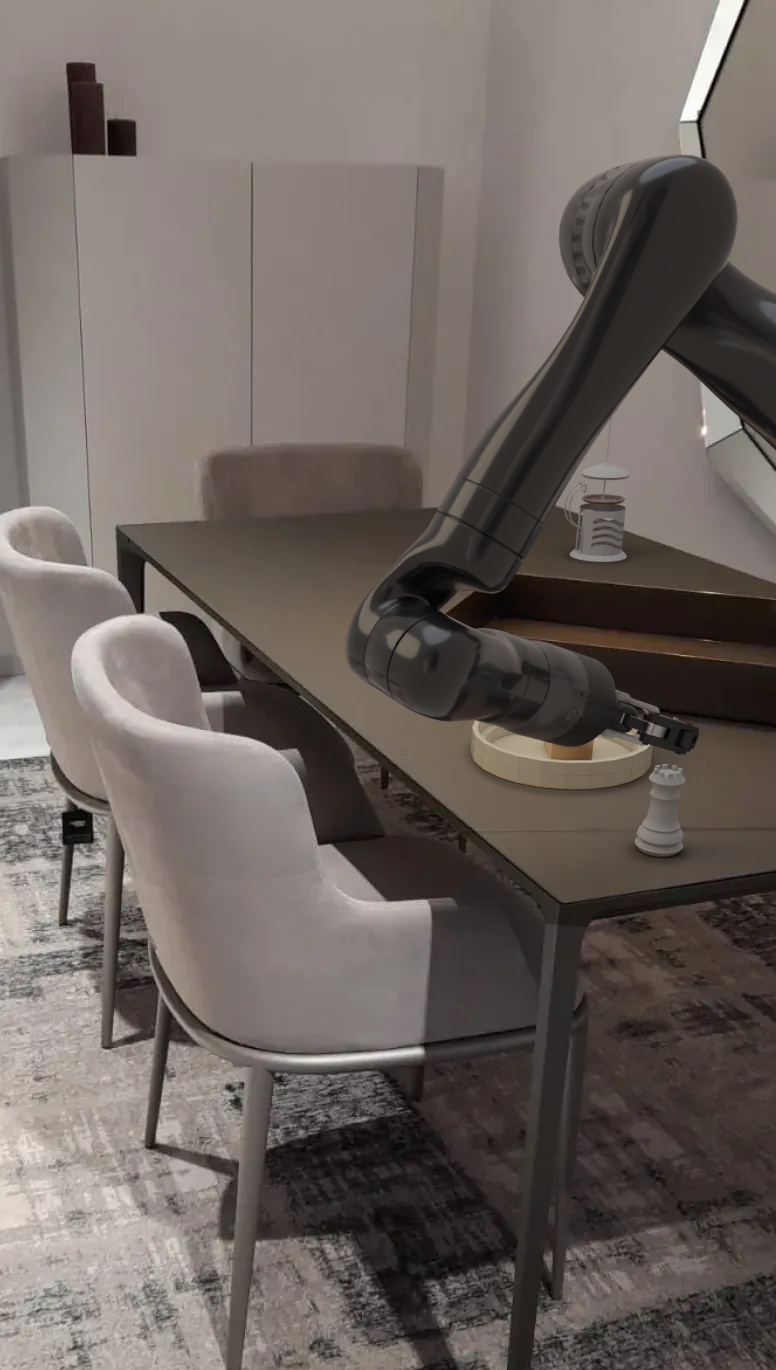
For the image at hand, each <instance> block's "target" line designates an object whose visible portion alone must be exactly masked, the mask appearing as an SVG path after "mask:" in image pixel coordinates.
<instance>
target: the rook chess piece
mask: <svg viewBox="0 0 776 1370" xmlns="http://www.w3.org/2000/svg"><path fill="white" fill-rule="evenodd" d="M683 771H684V770H683V768H682V767H679V765H675V764H672V765H671V768H669V764H668V763H662V764H661V765H659V764H657V765H654V768H653V772H652V773H650V774H649V776H648V779H649V781H650V782H651V784H652V788H651V790H650V792H649V795H650V804H649V807H648V811H647V815H646V817H645V819H643V820H642V824H640V825H639V826H638V829H637V831H636V833H635V834H636V835H637V837H636V838H635V839H634V844H635V846H636V847H637V849H638V850H639V851H640V852H642V853H643V854H646V855H648V856H653V857H658V858H662V857H663V858H665V857H666V858H669V857H672V856H675V855H677V854H678V853H680V851H682V850H683V848H684V844H683V842H682V841H683V840H684V837H685V835H684V832H683V830H682V829H681V824H680V822H679V818H678V803H679V799H680V798H681V797H682V794H681V793H680V788H681V787H682V786H683V785H684V784H685V782H686V778H685V777H684V775H683Z"/></svg>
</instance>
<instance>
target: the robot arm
mask: <svg viewBox="0 0 776 1370" xmlns="http://www.w3.org/2000/svg"><path fill="white" fill-rule="evenodd" d="M737 200H738V199H737V196H736V193H735V190H734V187H733V185H732V184H731V182H730V181H729V179H728V177H727V176H726V174H725V173H724V172H723V171H722V170H721V168H719V167H718V166H717V165H716V164H714V163H713V162H712V161H709V160H708V159H707V158H703V157H700V156H697V155H693V154H680V153H679V154H677V153H676V154H674V153H673V154H665V155H661V156H655V157H650V158H644V159H641V160H637V161H632V162H631V161H630V162H628V163H623V164H620V165H617V166H614V167H611V168H608V169H606V170H604V171H602V172H600V173H598V174H596V175H594V176H592V177H591V178H589V179H588V180H586V181H585V182H584V183H582V184H581V185H580V186H579V187H578V188H577V189H576V190H575V191H574V192H573V194H572V195H571V196H570V198H569V199H568V201H567V203H566V205H565V207H564V209H563V212H562V215H561V217H560V218H561V219H560V223H559V228H558V230H559V231H558V246H559V254H560V258H561V261H562V264H563V268H564V270H565V272H566V275H567V277H568V278H569V280H570V282H571V283H572V285H573V286H574V287H575V289H576V290H577V291H578V293H579V294H580V295H581V296H582V297H583V299H582V301H581V304H580V305H579V308H578V309H577V311H576V313H575V315H574V317H572V320H571V322H570V323H569V325H568V326H567V328H566V330H565V332H564V333H563V335H562V336H561V338H560V339H559V340H558V342H557V343H556V344H555V346H554V347H553V349H552V350H551V352H550V353H549V354H548V356H547V358H546V359H545V360H544V361H543V362H542V364H541V365H540V366H539V368H538V369H537V370H536V371H535V372H534V374H533V375H532V376H531V377H530V379H529V380H528V381H527V382H526V383H525V384H524V385H523V387H522V388H521V389H520V390H519V391H518V392H517V394H516V395H514V397H513V398H512V399H511V400H510V402H509V403H507V405H506V406H505V407H504V408H503V409H502V411H501V412H500V413H499V414H498V415H497V417H495V418H494V420H493V421H492V423H491V424H490V425H489V426H488V427H487V429H486V430H485V431H484V432H483V434H482V435H481V436H480V438H479V439H478V440H477V442H476V443H475V445H474V446H473V448H472V449H471V450H470V452H469V454H468V456H467V457H466V459H465V460H464V462H463V464H462V465H461V467H460V469H459V470H458V472H457V474H456V476H455V477H454V479H453V481H452V483H451V485H450V487H449V488H448V490H447V492H446V494H445V496H444V498H443V499H442V501H441V503H440V504H439V506H438V508H437V512H436V513H434V516H433V517H432V519H431V521H430V523H429V525H428V527H427V528H426V530H425V531H424V532H423V533H422V534H421V535H420V537H419V538H417V539H416V541H414V542H413V543H412V544H411V545H410V546H409V547H408V548H407V550H406V551H404V553H403V554H402V555H401V556H400V557H399V558H398V559H397V561H395V563H394V564H393V565H392V566H391V567H390V568H389V569H388V570H387V571H386V572H385V573H384V574H383V576H381V578H380V579H379V580H378V581H377V582H376V583H375V584H374V585H373V586H372V588H370V590H369V591H368V592H367V593H366V594H365V596H363V598H362V599H361V600H360V602H359V604H358V605H357V606H356V609H355V610H354V612H353V614H352V616H351V618H350V621H349V624H348V627H347V631H346V635H345V641H344V642H345V645H344V652H345V659H346V662H347V664H348V667H349V669H350V670H351V671H352V672H353V674H354V675H355V676H356V677H358V678H359V679H360V680H362V681H363V682H365V683H366V684H368V685H369V686H371V687H372V688H374V689H376V690H378V692H381V693H382V694H383V695H386V696H387V697H388V698H390V699H392V700H394V701H395V702H397V703H398V704H399V705H401V706H403V707H404V708H406V709H408V710H409V711H411V712H414V713H415V714H417V715H420V716H422V717H425V718H428V719H432V720H435V721H440V722H450V723H451V722H466V721H475V720H476V721H479V722H482V723H486V724H490V725H494V726H498V727H501V728H503V729H505V730H507V731H509V732H512V733H514V734H517V735H521V736H525V737H529V738H533V739H536V740H540V741H544V742H548V743H552V744H556V745H560V746H564V747H577V746H581V745H584V744H587V743H589V742H590V741H592V740H594V739H595V738H596V737H598V736H599V735H601V736H604V737H607V738H610V739H612V738H615V737H617V738H620V739H623V740H626V741H629V742H632V743H635V744H638V745H641V746H644V745H647V746H648V744H649V745H652V746H653V747H656V748H659V749H662V750H663V749H664V750H667V751H671V752H673V753H674V754H676V755H679V756H682V755H685V756H686V755H687V753H688V752H689V753H690V752H691V751H692V750H694V749H695V747H696V744H697V743H698V740H699V737H700V734H701V733H700V728H699V727H698V726H695V725H694V723H693V722H689V721H687V722H683V721H681V720H680V718H678V717H675V716H673V717H670V716H666V715H664V714H661V712H660V708H659V707H658V706H655V705H653V704H651V703H648V702H644V701H641V700H638V699H636V698H632V697H631V695H630V694H629V693H627V692H624V691H622V690H618V689H616V685H615V681H614V678H613V676H612V674H611V672H610V670H608V667H606V666H605V664H603V663H602V662H601V661H599V660H598V659H596V658H594V657H592V656H588V655H585V654H582V653H579V652H576V651H573V650H570V649H567V648H564V647H561V646H560V645H559V646H558V645H555V644H553V643H549V642H546V641H542V640H535V639H527V638H524V637H522V636H518V635H515V634H512V633H509V632H507V631H504V630H499V629H495V628H489V627H479V628H474V627H473V626H472V627H471V626H469V625H468V624H465V623H463V622H461V621H460V620H457V619H456V618H454V617H451V616H450V615H448V614H447V613H444V612H442V610H443V609H444V608H445V607H446V606H447V605H448V604H449V603H450V602H451V601H453V600H454V599H455V597H457V596H458V595H459V594H461V593H462V592H467V591H470V592H471V591H472V592H477V593H484V594H498V593H499V592H502V591H503V590H505V589H506V588H507V587H508V586H509V585H510V583H511V582H512V580H513V579H514V578H515V576H516V574H517V572H518V571H519V569H520V567H521V566H522V564H523V560H525V559H526V557H527V556H528V553H529V552H530V550H531V548H532V547H533V545H534V543H535V541H536V540H537V538H538V536H539V534H540V533H541V531H542V529H543V528H544V526H545V524H546V522H547V520H548V519H549V517H550V515H551V513H552V512H553V510H554V509H555V506H556V505H557V503H558V501H559V499H560V498H561V496H562V494H563V493H564V492H565V490H566V488H567V486H568V485H569V483H570V481H571V479H572V477H573V476H574V475H575V473H576V472H577V470H578V468H579V467H580V465H581V463H582V462H583V460H584V459H585V458H586V456H587V454H588V453H589V451H590V450H591V448H592V446H594V444H595V442H596V441H597V440H598V438H599V436H600V435H601V433H602V432H603V430H604V429H605V428H606V426H607V425H608V424H609V423H610V419H611V418H612V417H613V416H614V415H615V413H616V412H617V411H616V410H617V409H618V410H619V408H620V406H621V405H622V404H623V402H624V401H625V400H626V398H627V397H628V395H629V394H630V393H631V392H632V390H633V389H634V387H636V385H637V383H639V381H640V380H641V378H642V377H643V375H644V374H645V373H646V371H647V370H648V369H649V368H650V366H651V365H652V364H653V362H654V360H655V359H656V358H657V356H658V355H660V352H661V351H663V352H664V353H666V354H667V355H669V356H670V357H672V358H673V359H674V360H675V361H677V362H678V363H679V364H680V365H682V366H683V367H684V368H685V369H687V370H688V371H689V372H690V373H691V374H692V375H693V376H694V377H696V379H697V380H698V381H700V382H701V383H702V385H704V387H706V388H707V389H708V390H709V391H710V392H711V394H713V395H714V397H716V398H717V399H718V400H719V401H720V402H721V403H722V404H724V405H725V406H726V407H727V409H729V410H730V411H731V412H733V414H735V415H736V416H737V418H739V419H740V420H741V421H742V422H743V423H745V424H746V425H747V426H748V427H749V428H751V429H752V430H753V431H754V432H755V433H756V434H758V435H759V436H760V437H761V438H762V439H763V440H764V441H765V442H766V443H767V444H768V445H769V446H770V447H771V448H772V449H773V450H774V451H776V291H774V290H773V289H770V288H768V287H766V286H765V285H763V284H761V283H759V282H758V281H756V280H754V279H753V278H751V277H750V276H749V275H747V274H746V273H745V272H743V271H742V270H741V269H740V268H739V267H738V266H736V265H735V264H734V263H733V262H732V261H731V260H730V257H731V254H732V252H733V249H734V247H735V244H736V238H737V235H738V228H739V207H738V201H737ZM611 420H612V419H611ZM635 707H637V708H639V709H642V711H643V716H642V717H638V715H639V714H638V710H637V709H636V708H635ZM632 728H634V729H636V730H638V731H637V733H636V734H634V735H629V734H626V733H628V732H630V731H631V730H632Z"/></svg>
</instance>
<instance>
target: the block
mask: <svg viewBox="0 0 776 1370" xmlns="http://www.w3.org/2000/svg"><path fill="white" fill-rule="evenodd" d="M593 744H594V740H592V741H590V742H589V743H587V744H584V745H581V746H577V747H564V746H560V745H556V744H552V743H548V742H544V747H545V749H546V751H547V753H548V755H549V757H550V759H554V760H592V754H593Z"/></svg>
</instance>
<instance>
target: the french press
mask: <svg viewBox="0 0 776 1370" xmlns="http://www.w3.org/2000/svg"><path fill="white" fill-rule="evenodd" d="M618 411H619V408H618V409H617V410H616V412H618ZM611 427H612V418H611V419H610V420H609V427H608V429H609V430H608V437H607V438H608V439H607V450H606V460H605V462H604V463H600V464H599V463H598V464H596V465H593V466H590V467H587V468H586V469H585V470H583V471H582V472H581V476H582V477H583V479H584V478H585V479H589V480H598V481H599V480H600V481H603V491H602V493H601V494H599V493H589V494H585V495H583V496H582V498H581V499H582V501H583V502H585V503H583V504H581V505H580V506H578V507H579V508H578V519H577V524H576V523H575V522H574V521H573V518H572V515H571V505H572V501H573V498H574V496H575V494H576V493H577V492H578V490H579V489H580V491H581V492H582V493H587V488H588V485H587V484H586V483H582V482H578V483H576V484H574V485H573V486H572V487H571V488H570V489H569V490H568V492H567V494H566V497H565V499H564V506H563V507H564V508H563V509H564V516H565V519H566V521H567V522H568V523H569V524H570V525H571V526H574V527H575V528H576V535H575V536H576V538H575V548H574V549H573V550H572V551H571V552H570V553H568V554H569V556H570V557H571V558H573V559H575V560H580V561H585V562H595V563H597V562H598V563H606V562H607V563H608V562H609V563H613V562H618V561H623V560H625V559H627V558H628V555H627V554H626V553H625V551H623V550H622V549H623V541H624V540H623V539H624V530H625V521H626V510H627V509H626V506H625V505H622V504H623V503H624V501H625V500H626V498H625V497H624V496H621V495H618V494H612V493H610V494H607V493H605V491H606V482H607V481H618V480H626V479H629V477H630V476H631V472H629V471H627V470H626V469H625V468H623V467H621V466H619V465H617V464H613V463H610V462H608V459H609V449H610V441H611V439H610V438H611V430H612V429H611ZM578 485H580V486H578ZM577 486H578V487H577ZM575 487H577V488H576V489H575ZM583 487H584V490H583ZM574 489H575V490H574ZM573 490H574V492H573V493H572V495H571V497H570V500H569V503H568V514H567V501H568V499H569V496H570V494H571V492H572V491H573ZM568 516H569V517H568ZM607 519H610V520H607ZM595 521H596V522H597V523H595ZM594 529H597V530H594ZM595 536H596V537H597V538H595Z"/></svg>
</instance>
